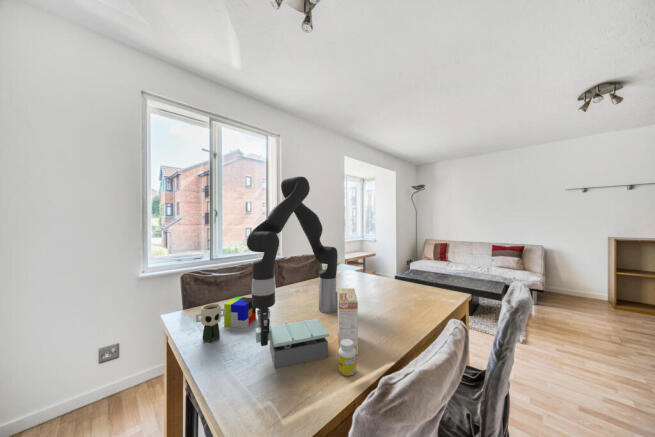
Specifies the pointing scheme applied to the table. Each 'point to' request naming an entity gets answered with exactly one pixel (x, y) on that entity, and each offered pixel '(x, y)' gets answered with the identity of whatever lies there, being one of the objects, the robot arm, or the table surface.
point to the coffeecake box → (347, 316)
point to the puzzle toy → (239, 312)
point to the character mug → (210, 320)
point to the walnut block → (310, 342)
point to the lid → (294, 332)
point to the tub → (298, 353)
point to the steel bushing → (287, 346)
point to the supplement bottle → (347, 358)
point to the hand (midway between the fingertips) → (263, 341)
